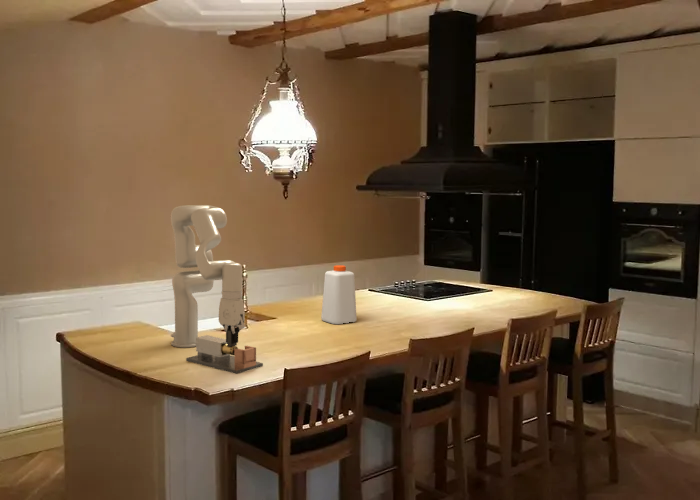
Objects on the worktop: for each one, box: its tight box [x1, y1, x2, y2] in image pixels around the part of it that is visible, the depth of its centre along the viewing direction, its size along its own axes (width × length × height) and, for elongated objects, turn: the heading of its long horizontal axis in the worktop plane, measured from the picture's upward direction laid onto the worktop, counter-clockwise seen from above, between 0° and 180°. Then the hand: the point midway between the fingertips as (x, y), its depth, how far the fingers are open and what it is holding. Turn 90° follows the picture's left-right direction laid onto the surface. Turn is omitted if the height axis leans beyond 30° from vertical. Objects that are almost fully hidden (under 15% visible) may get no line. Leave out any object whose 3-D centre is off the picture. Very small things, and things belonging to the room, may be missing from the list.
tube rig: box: [185, 334, 264, 375], centre depth 285 cm, size 28×14×9 cm, turn 53°
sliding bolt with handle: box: [222, 330, 239, 356], centre depth 286 cm, size 17×4×10 cm, turn 53°
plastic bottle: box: [321, 264, 357, 325], centre depth 367 cm, size 15×15×28 cm
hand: (232, 342), depth 282 cm, fingers closed on sliding bolt with handle, 2 cm apart
